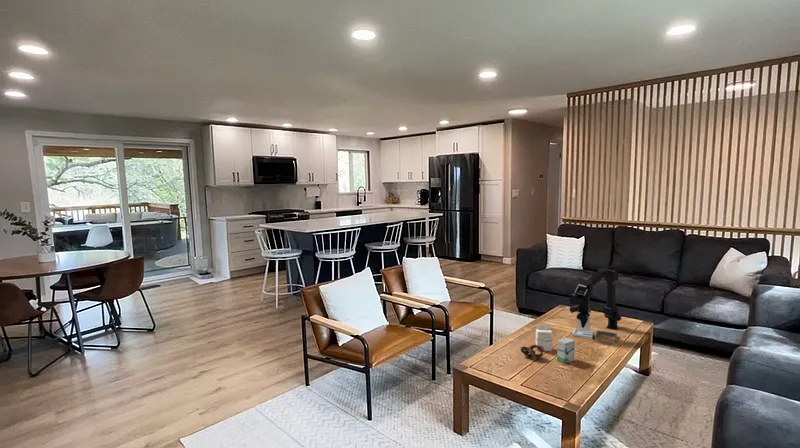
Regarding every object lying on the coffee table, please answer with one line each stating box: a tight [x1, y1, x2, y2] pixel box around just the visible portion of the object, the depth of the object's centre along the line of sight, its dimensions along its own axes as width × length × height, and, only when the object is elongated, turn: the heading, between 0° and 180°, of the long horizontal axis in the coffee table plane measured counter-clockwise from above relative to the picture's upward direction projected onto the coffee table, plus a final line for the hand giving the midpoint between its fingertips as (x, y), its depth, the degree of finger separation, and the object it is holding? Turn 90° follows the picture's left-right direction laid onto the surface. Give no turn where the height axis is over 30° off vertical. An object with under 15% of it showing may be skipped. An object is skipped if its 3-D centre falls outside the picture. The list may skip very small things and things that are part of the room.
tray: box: [571, 328, 595, 340], centre depth 260 cm, size 10×12×2 cm
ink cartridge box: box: [534, 323, 553, 352], centre depth 240 cm, size 9×5×15 cm, turn 84°
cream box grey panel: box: [576, 316, 591, 332], centre depth 260 cm, size 5×7×9 cm
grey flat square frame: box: [594, 329, 618, 344], centre depth 255 cm, size 12×12×2 cm
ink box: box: [556, 337, 576, 364], centre depth 225 cm, size 9×5×12 cm, turn 117°
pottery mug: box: [520, 344, 544, 362], centre depth 230 cm, size 12×10×8 cm
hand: (583, 326), depth 260 cm, fingers closed on cream box grey panel, 5 cm apart
